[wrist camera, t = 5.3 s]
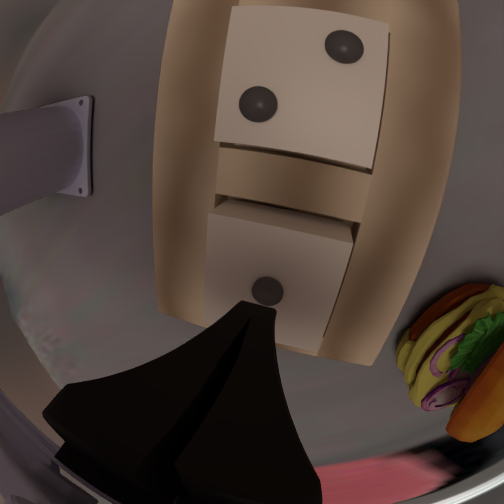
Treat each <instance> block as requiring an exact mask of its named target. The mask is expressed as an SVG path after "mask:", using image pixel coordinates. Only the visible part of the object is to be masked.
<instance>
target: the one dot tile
mask: <svg viewBox="0 0 504 504" xmlns="http://www.w3.org/2000/svg"><path fill="white" fill-rule="evenodd" d="M352 247H353V240H352V235H351V230H350V226H349V224H348V223H344V222H339V221H335V220H331V219H326V218H322V217H317V216H313V215H308V214H304V213H299V212H294V211H289V210H284V209H280V208H275V207H270V206H264V205H259V204H254V203H249V202H243V201H238V200H232V199H227V200H226V201H224V202H223V203H221V204H220V205H219V206H217V207H216V208H214V209H213V210H211V211H210V212H209V213H208V222H207V240H206V261H205V290H204V323H206V324H209V325H212V324H213V323H215V322H216V321H217V320H219V319H220V318H221V317H222V316H223V315H225V314H226V313H227V312H228V311H229V310H231V309H232V308H233V307H234V306H235V305H236V304H237V303H238V302H240V301H242V300H243V301H247V302H251V303H255V304H259V305H263V306H267V307H271V308H275V309H276V311H277V315H276V319H275V343H279V344H283V345H287V346H291V347H296V348H300V349H305V350H309V351H314V352H317V350H318V347H319V345H320V342H321V339H322V337H323V334H324V332H325V329H326V326H327V323H328V321H329V318H330V315H331V312H332V310H333V307H334V304H335V301H336V298H337V295H338V292H339V289H340V286H341V283H342V280H343V277H344V273H345V270H346V267H347V264H348V260H349V257H350V253H351V250H352Z"/></svg>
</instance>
